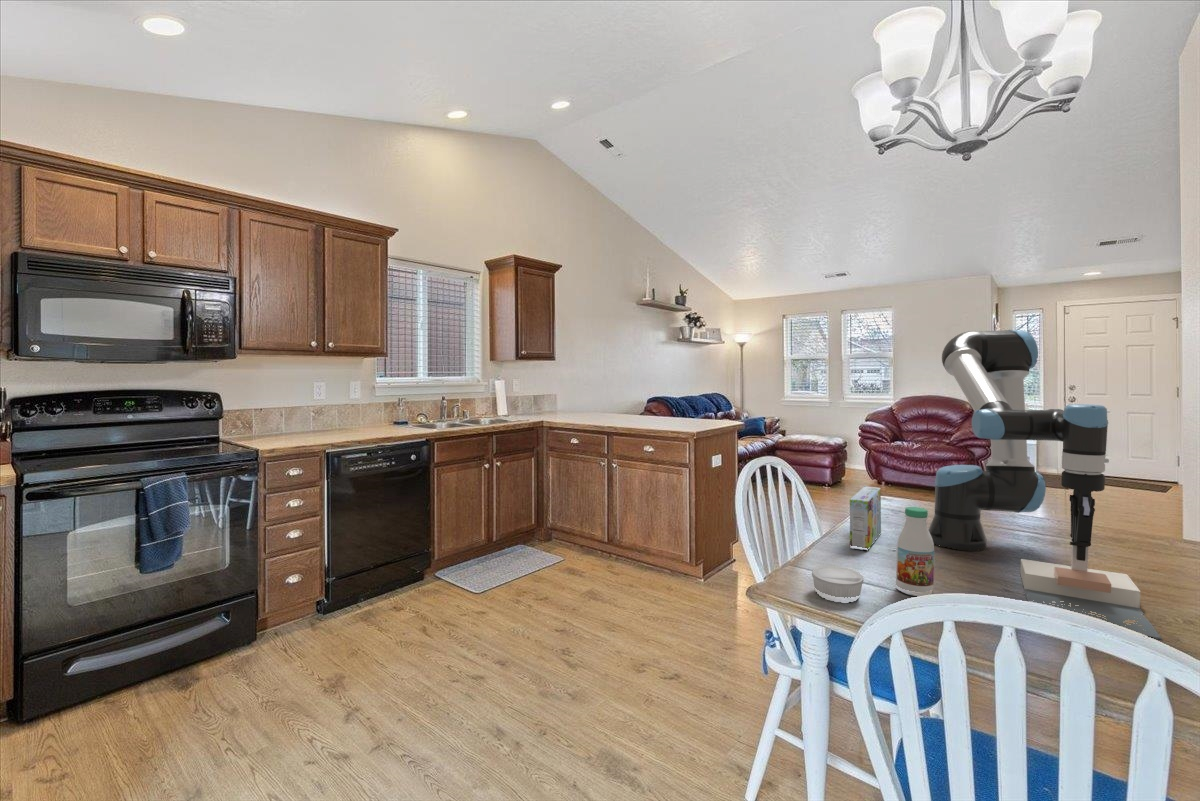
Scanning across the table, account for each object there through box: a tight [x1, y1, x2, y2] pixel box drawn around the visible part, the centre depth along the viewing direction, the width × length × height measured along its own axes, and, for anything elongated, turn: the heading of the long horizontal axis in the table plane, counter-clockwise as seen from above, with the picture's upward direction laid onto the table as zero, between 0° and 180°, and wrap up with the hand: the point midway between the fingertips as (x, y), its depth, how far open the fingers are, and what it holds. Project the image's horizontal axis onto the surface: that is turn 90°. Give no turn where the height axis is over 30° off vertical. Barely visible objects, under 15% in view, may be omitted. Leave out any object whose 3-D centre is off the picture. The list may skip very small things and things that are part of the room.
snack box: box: [849, 485, 882, 549], centre depth 170 cm, size 21×6×15 cm, turn 144°
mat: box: [1024, 589, 1162, 640], centre depth 120 cm, size 20×16×1 cm
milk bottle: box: [895, 506, 935, 592], centre depth 131 cm, size 8×8×20 cm
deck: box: [1019, 558, 1141, 609], centre depth 132 cm, size 20×12×4 cm, turn 57°
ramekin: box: [811, 565, 865, 598], centre depth 130 cm, size 11×11×5 cm
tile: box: [1054, 567, 1111, 593], centre depth 126 cm, size 9×6×2 cm, turn 57°
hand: (1079, 572), depth 129 cm, fingers closed
